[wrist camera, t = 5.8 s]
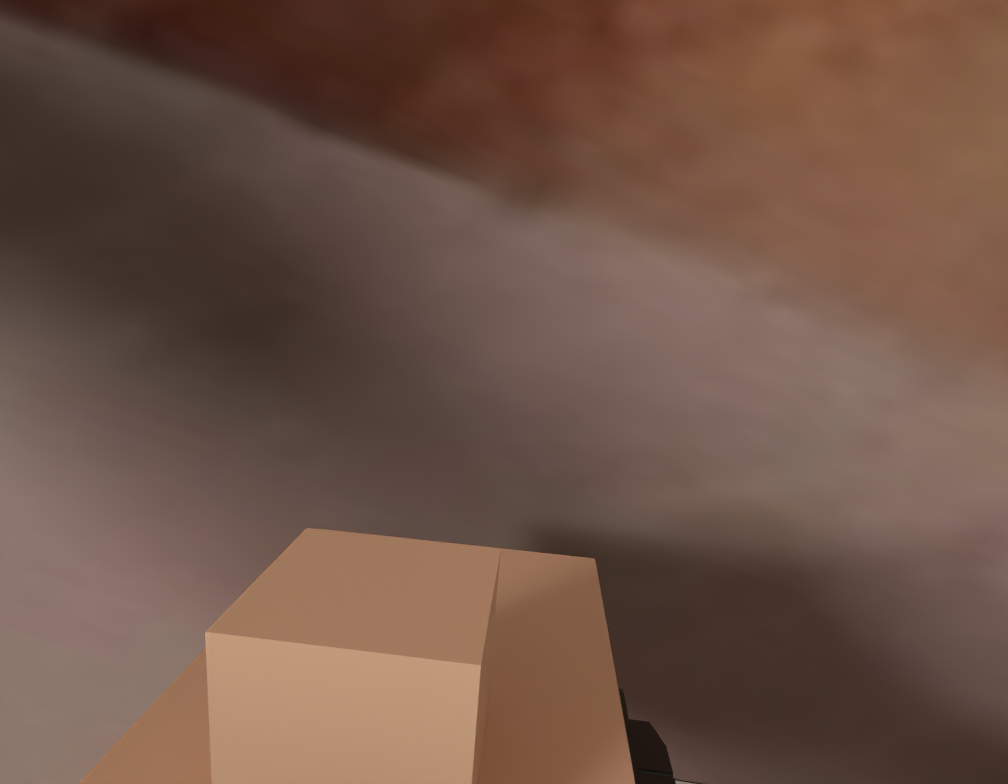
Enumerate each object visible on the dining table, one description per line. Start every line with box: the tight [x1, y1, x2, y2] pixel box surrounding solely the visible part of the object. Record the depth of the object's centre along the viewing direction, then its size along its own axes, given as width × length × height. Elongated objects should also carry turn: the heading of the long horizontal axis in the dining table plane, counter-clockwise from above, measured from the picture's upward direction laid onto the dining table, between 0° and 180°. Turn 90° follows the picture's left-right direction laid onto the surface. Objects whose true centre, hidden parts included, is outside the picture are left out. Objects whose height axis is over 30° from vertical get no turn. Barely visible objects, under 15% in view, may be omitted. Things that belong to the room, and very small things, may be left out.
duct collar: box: [79, 528, 635, 784], centre depth 8 cm, size 6×8×7 cm
